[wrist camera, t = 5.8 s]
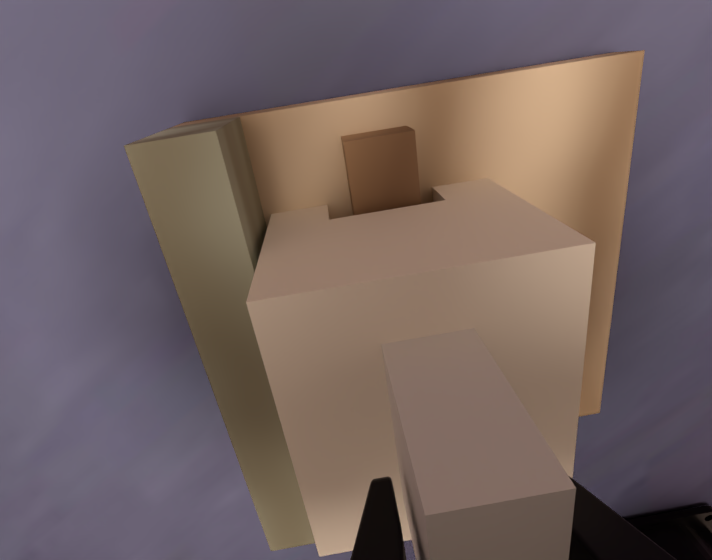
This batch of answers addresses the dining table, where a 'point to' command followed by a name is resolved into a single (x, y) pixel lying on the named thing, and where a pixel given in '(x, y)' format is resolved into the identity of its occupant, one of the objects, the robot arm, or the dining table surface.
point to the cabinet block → (430, 368)
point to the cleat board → (377, 209)
